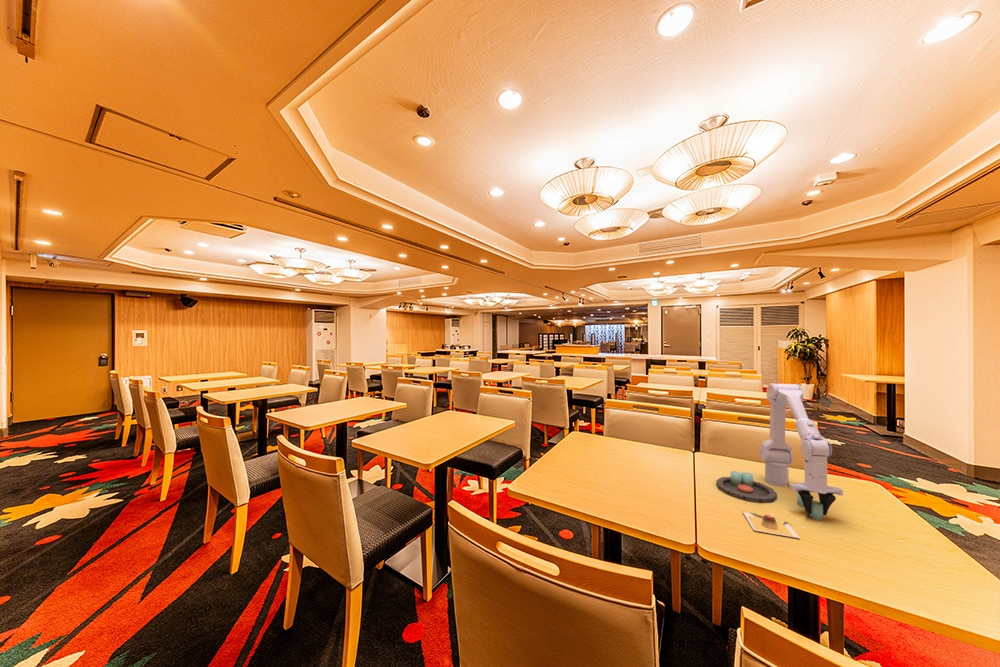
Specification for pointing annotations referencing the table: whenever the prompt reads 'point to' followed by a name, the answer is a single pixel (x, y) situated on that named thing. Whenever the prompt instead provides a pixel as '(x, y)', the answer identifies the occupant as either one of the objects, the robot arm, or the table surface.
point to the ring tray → (755, 497)
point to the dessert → (770, 524)
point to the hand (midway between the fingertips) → (815, 513)
